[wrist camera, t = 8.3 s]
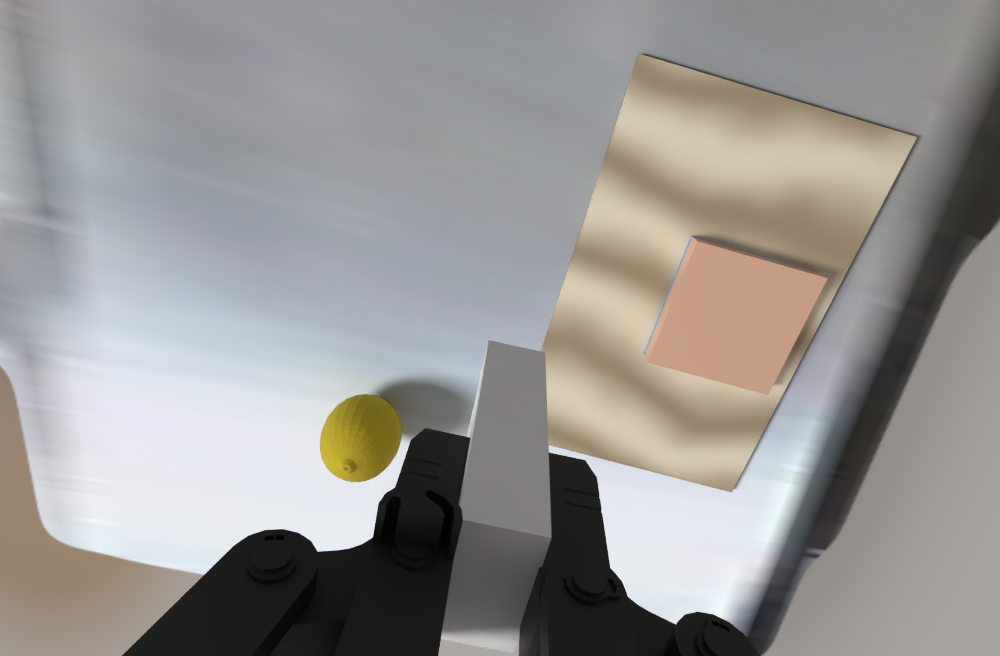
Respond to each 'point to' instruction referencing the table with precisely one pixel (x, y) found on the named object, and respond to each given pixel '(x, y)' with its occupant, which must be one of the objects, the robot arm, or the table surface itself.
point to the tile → (732, 315)
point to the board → (662, 242)
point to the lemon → (360, 438)
